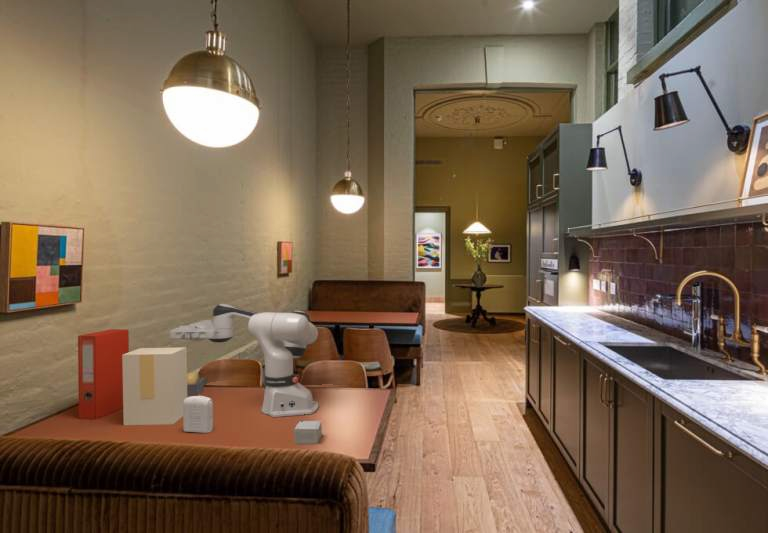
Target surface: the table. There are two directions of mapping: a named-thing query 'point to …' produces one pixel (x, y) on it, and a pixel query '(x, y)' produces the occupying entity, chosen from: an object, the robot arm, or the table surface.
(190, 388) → the gold knob on base
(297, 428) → the small box
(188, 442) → the table surface
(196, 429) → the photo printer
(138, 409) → the carton
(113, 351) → the file binder
